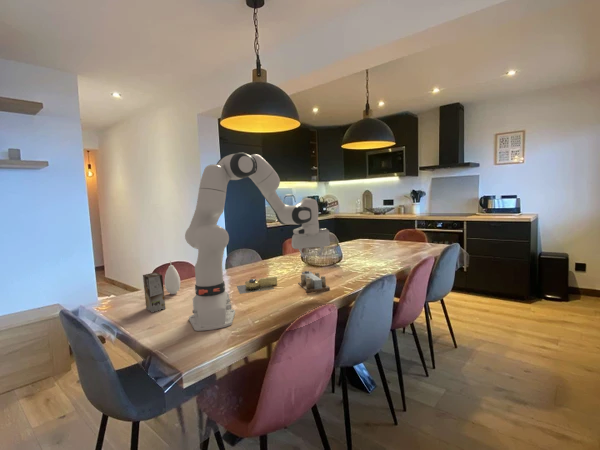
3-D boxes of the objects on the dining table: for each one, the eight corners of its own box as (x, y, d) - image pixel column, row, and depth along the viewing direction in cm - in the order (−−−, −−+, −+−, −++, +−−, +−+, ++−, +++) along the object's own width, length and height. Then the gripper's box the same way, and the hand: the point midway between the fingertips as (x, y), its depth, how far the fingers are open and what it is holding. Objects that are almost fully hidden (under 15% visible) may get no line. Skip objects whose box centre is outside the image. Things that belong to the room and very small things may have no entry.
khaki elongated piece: (246, 290, 168) (246, 282, 168) (244, 286, 176) (244, 279, 175) (278, 285, 173) (278, 278, 172) (275, 282, 180) (274, 275, 180)
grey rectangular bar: (323, 288, 163) (323, 278, 162) (313, 289, 161) (312, 279, 161) (310, 278, 183) (310, 269, 182) (301, 280, 181) (300, 271, 181)
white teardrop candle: (166, 292, 176) (163, 260, 174) (181, 291, 178) (178, 258, 176) (164, 297, 168) (161, 262, 166) (180, 294, 170) (177, 261, 169)
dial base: (274, 290, 168) (274, 288, 168) (239, 295, 163) (239, 293, 163) (268, 283, 183) (268, 281, 183) (236, 287, 178) (236, 285, 178)
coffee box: (166, 308, 149) (163, 274, 147) (151, 312, 145) (148, 277, 143) (159, 304, 156) (156, 272, 154) (145, 308, 151) (142, 274, 150)
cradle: (329, 290, 164) (329, 277, 163) (307, 293, 161) (306, 280, 160) (319, 282, 179) (318, 271, 179) (298, 285, 176) (297, 273, 175)
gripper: (327, 227, 173) (327, 253, 174) (290, 230, 167) (291, 256, 168) (331, 228, 167) (332, 255, 168) (293, 231, 161) (294, 258, 162)
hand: (311, 256), depth 168 cm, fingers open, 8 cm apart
